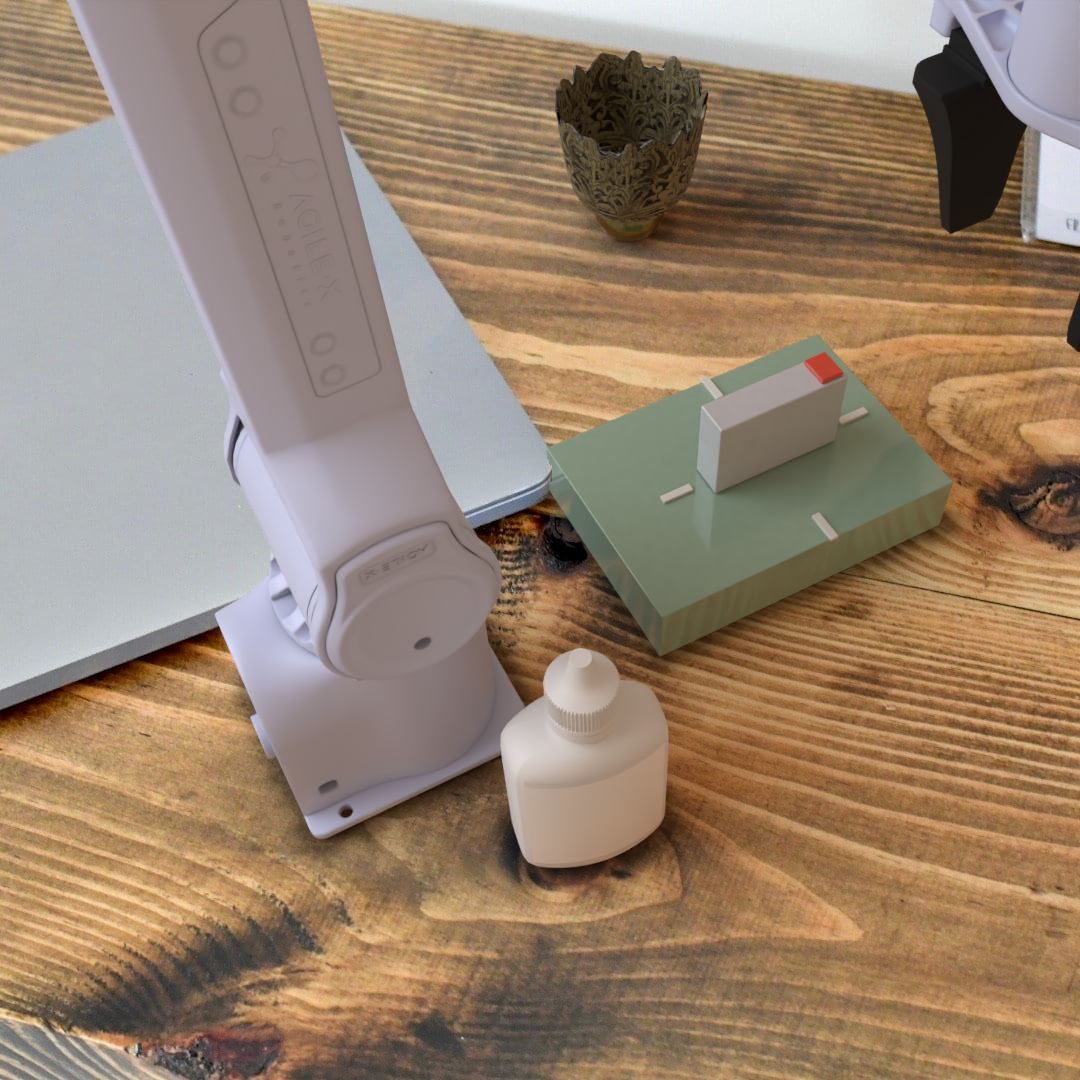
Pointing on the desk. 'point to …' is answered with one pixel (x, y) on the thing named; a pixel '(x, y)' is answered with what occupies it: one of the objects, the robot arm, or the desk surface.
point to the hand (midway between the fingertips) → (1026, 277)
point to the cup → (630, 139)
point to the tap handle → (770, 422)
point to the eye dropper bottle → (585, 764)
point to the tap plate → (739, 505)
